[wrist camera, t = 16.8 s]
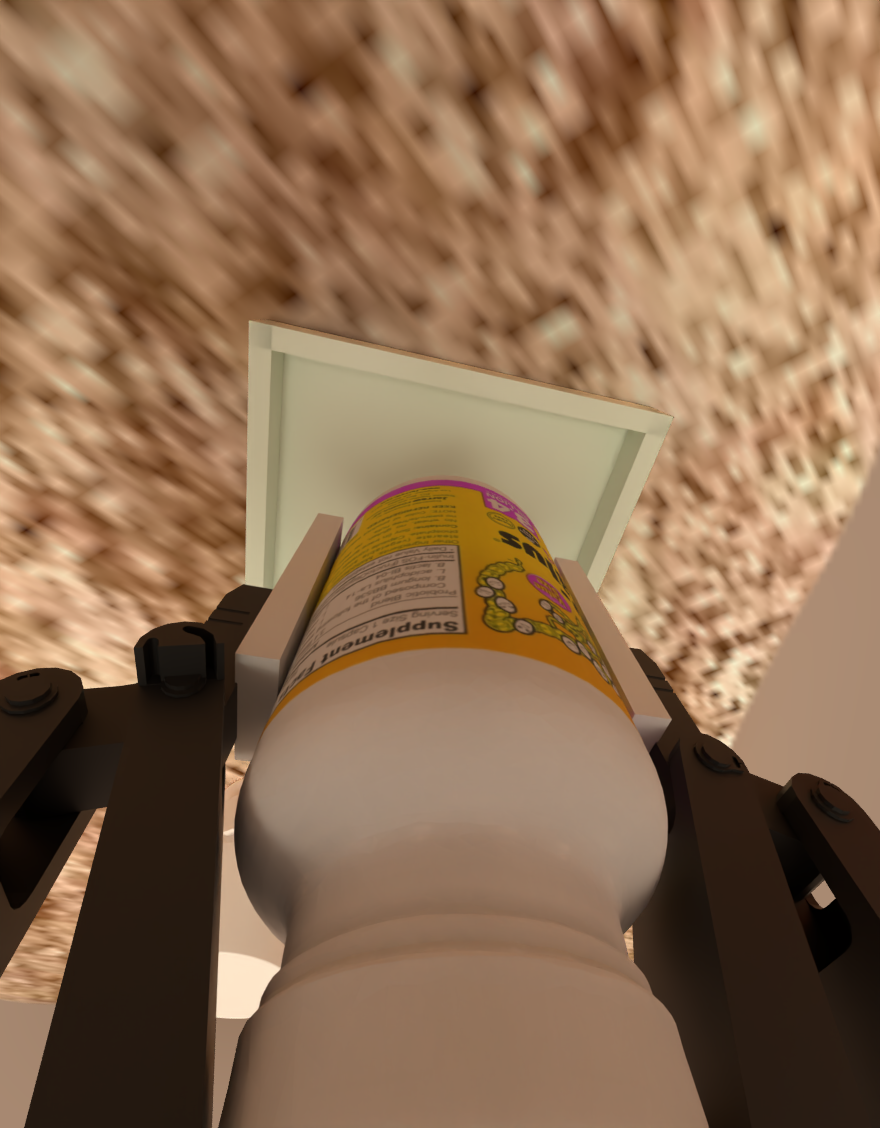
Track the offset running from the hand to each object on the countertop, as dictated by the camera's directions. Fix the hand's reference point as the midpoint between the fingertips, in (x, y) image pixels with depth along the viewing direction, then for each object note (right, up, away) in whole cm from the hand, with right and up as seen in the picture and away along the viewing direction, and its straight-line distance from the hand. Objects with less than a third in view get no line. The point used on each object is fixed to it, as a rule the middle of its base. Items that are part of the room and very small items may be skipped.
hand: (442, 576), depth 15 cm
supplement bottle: (0, 0, +1) cm, 1 cm away
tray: (-1, 0, +9) cm, 9 cm away
